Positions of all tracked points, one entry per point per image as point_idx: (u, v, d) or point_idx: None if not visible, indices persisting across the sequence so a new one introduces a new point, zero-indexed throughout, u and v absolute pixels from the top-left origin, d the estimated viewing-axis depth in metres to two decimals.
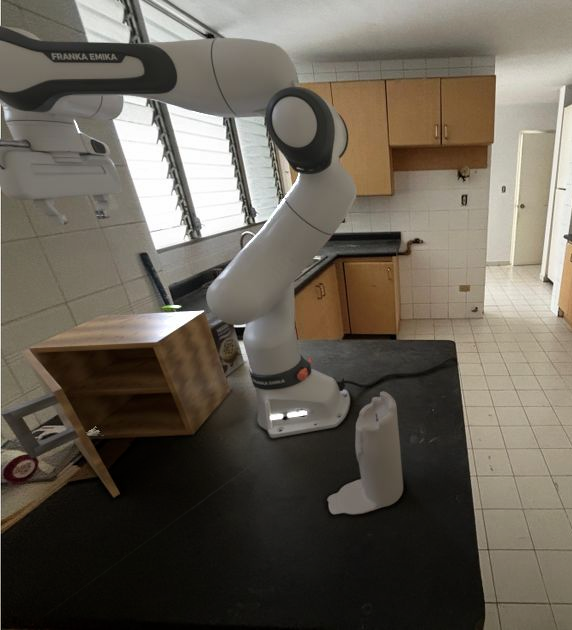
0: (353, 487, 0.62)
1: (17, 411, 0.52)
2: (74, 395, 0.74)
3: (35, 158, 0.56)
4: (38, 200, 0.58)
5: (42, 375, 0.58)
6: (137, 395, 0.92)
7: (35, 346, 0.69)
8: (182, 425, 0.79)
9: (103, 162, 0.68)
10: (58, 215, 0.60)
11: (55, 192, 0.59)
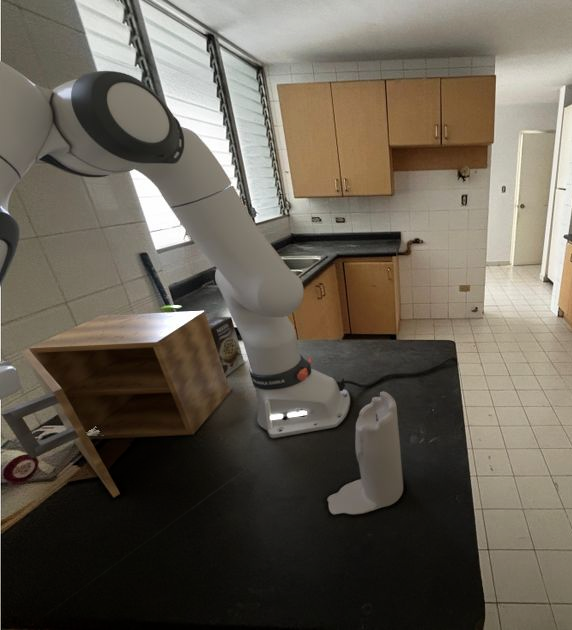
0: (353, 487, 0.62)
1: (17, 411, 0.52)
2: (74, 395, 0.74)
3: None
4: None
5: (42, 375, 0.58)
6: (137, 395, 0.92)
7: (35, 346, 0.69)
8: (182, 425, 0.79)
9: None
10: None
11: None
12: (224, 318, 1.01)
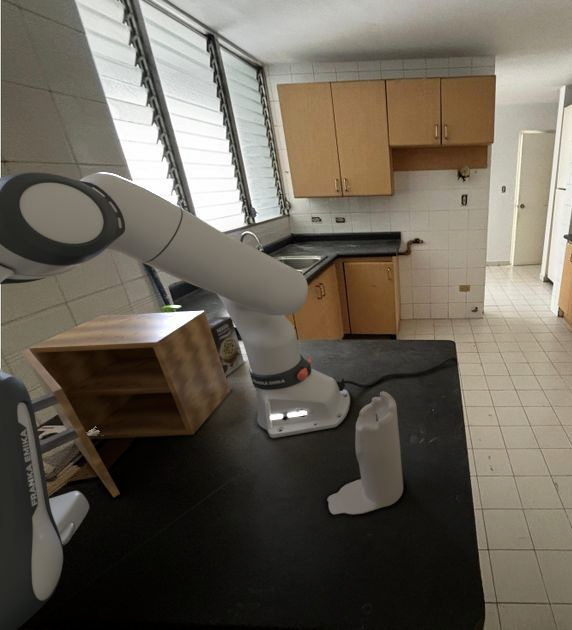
0: (353, 487, 0.62)
1: None
2: (74, 395, 0.74)
3: None
4: None
5: (42, 375, 0.58)
6: (137, 395, 0.92)
7: (35, 346, 0.69)
8: (182, 425, 0.79)
9: None
10: None
11: None
12: (224, 318, 1.01)
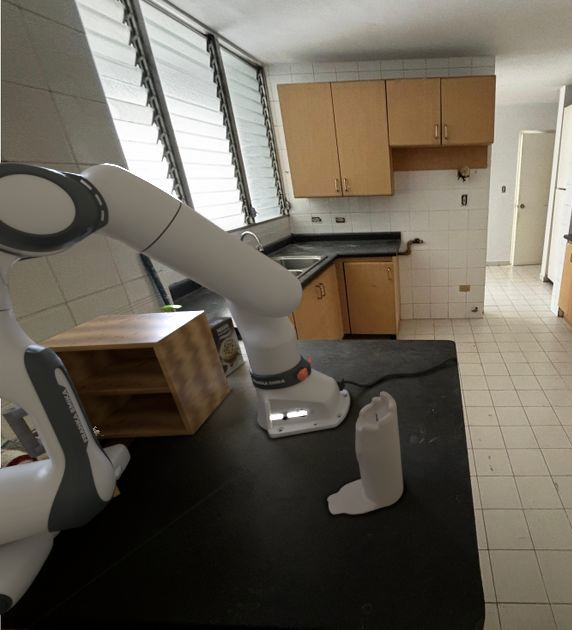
0: (353, 487, 0.62)
1: (18, 411, 0.52)
2: None
3: None
4: None
5: None
6: (137, 395, 0.92)
7: None
8: (182, 425, 0.79)
9: None
10: None
11: None
12: (224, 318, 1.01)
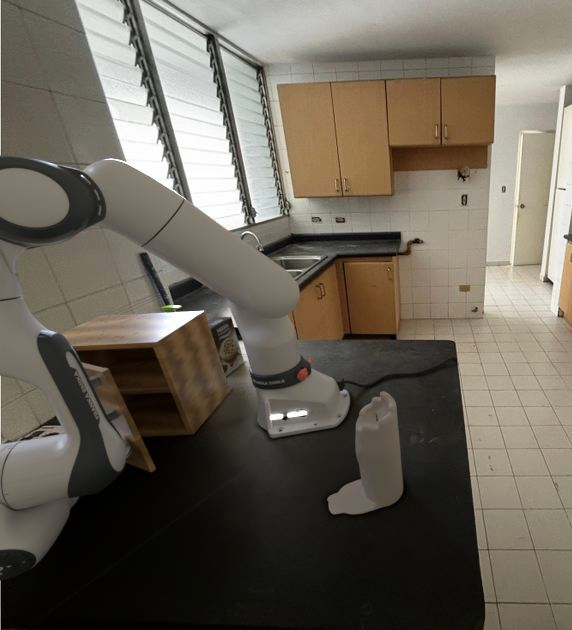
0: (353, 487, 0.62)
1: None
2: None
3: None
4: None
5: None
6: (137, 395, 0.92)
7: None
8: (182, 425, 0.79)
9: None
10: None
11: None
12: (224, 318, 1.01)
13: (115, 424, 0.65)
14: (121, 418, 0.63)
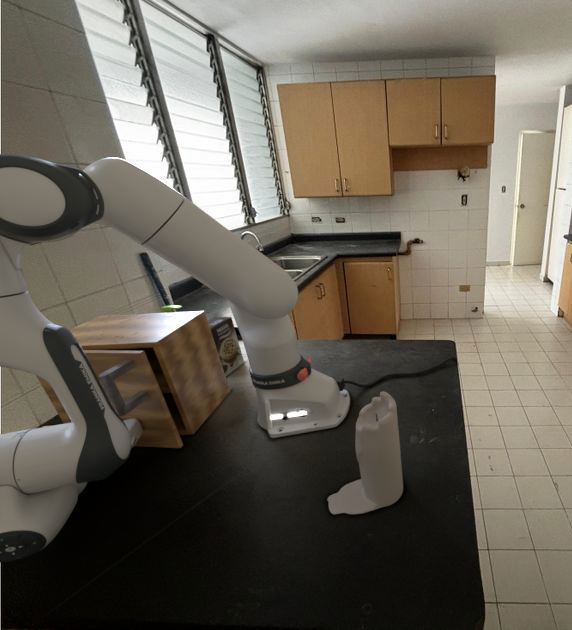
0: (353, 487, 0.62)
1: (112, 373, 0.62)
2: None
3: None
4: None
5: (100, 352, 0.66)
6: None
7: None
8: (182, 425, 0.79)
9: None
10: None
11: None
12: (224, 318, 1.01)
13: (143, 406, 0.70)
14: (153, 398, 0.69)
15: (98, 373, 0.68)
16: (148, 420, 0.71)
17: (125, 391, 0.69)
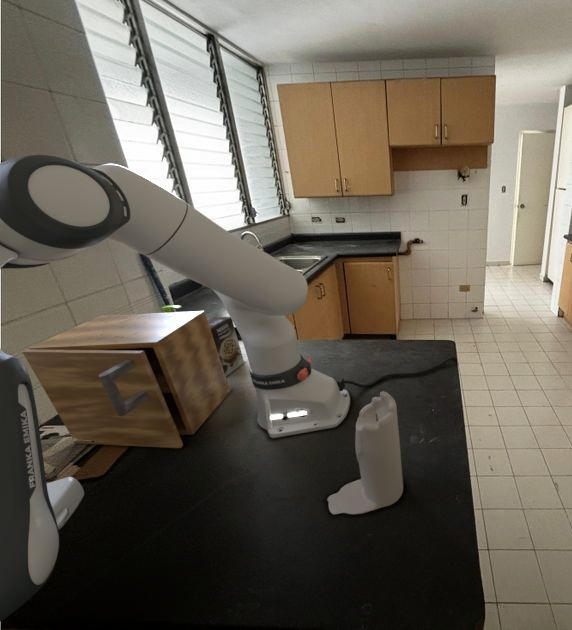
0: (353, 487, 0.62)
1: (112, 373, 0.62)
2: None
3: None
4: None
5: (100, 352, 0.66)
6: None
7: (35, 346, 0.69)
8: (182, 425, 0.79)
9: None
10: None
11: None
12: (224, 318, 1.01)
13: (143, 406, 0.70)
14: (153, 398, 0.69)
15: (98, 373, 0.68)
16: (148, 420, 0.71)
17: (125, 391, 0.69)
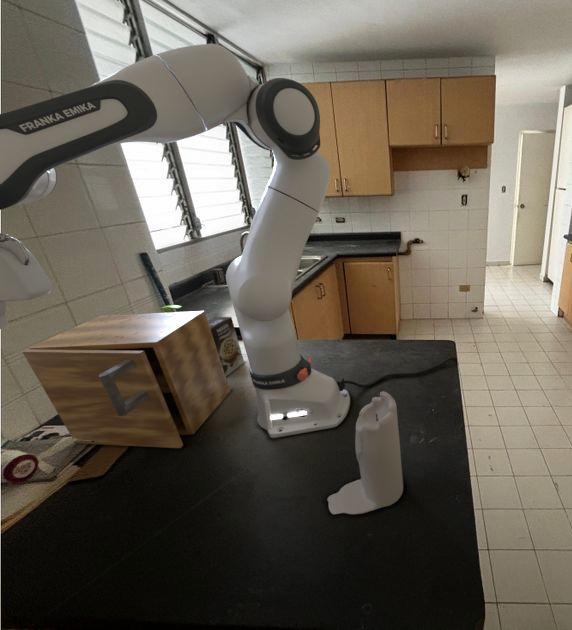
0: (353, 487, 0.62)
1: (112, 373, 0.62)
2: None
3: None
4: None
5: (100, 352, 0.66)
6: None
7: (35, 346, 0.69)
8: (182, 425, 0.79)
9: None
10: (3, 315, 0.51)
11: None
12: (224, 318, 1.01)
13: (143, 406, 0.70)
14: (153, 398, 0.69)
15: (98, 373, 0.68)
16: (148, 420, 0.71)
17: (125, 391, 0.69)
